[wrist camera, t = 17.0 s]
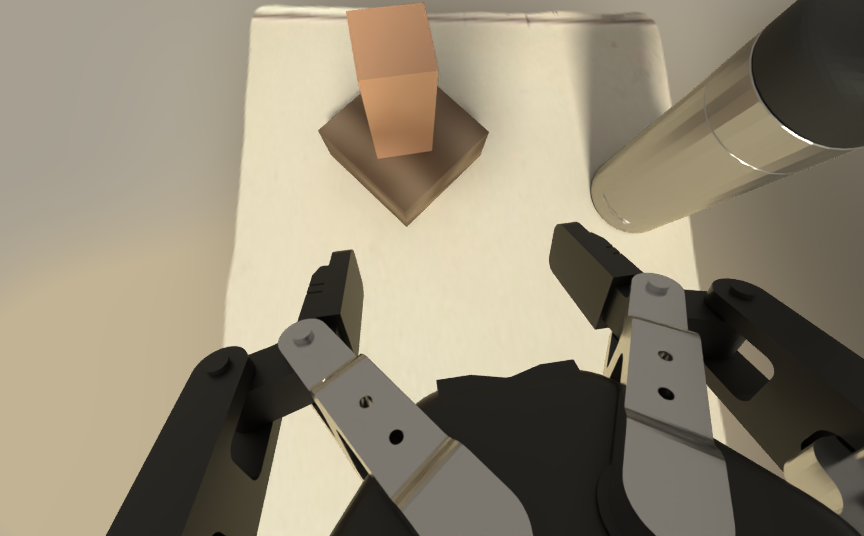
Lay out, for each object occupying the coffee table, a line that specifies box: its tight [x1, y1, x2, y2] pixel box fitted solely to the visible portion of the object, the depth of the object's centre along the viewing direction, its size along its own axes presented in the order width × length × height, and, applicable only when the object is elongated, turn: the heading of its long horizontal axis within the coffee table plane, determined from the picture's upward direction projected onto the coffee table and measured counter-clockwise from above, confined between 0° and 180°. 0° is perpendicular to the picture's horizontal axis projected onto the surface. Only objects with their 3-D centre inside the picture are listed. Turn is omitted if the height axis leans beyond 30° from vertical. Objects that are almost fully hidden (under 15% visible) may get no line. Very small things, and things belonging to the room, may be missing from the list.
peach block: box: [346, 2, 438, 159], centre depth 26 cm, size 5×5×10 cm
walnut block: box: [318, 86, 489, 227], centre depth 33 cm, size 12×12×5 cm
